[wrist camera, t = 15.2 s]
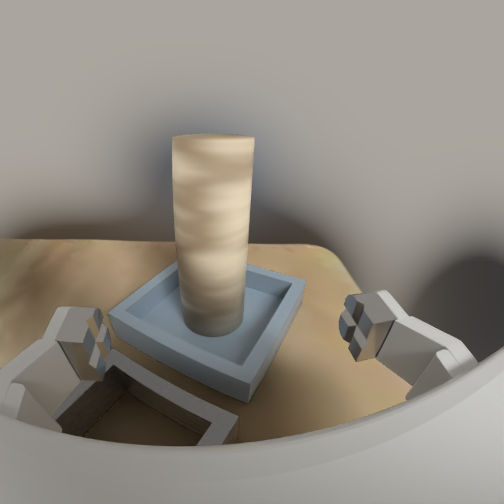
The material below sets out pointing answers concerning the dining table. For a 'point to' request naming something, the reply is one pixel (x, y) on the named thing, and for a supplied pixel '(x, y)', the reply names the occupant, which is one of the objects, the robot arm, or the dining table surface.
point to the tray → (212, 348)
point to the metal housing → (150, 392)
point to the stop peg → (212, 228)
